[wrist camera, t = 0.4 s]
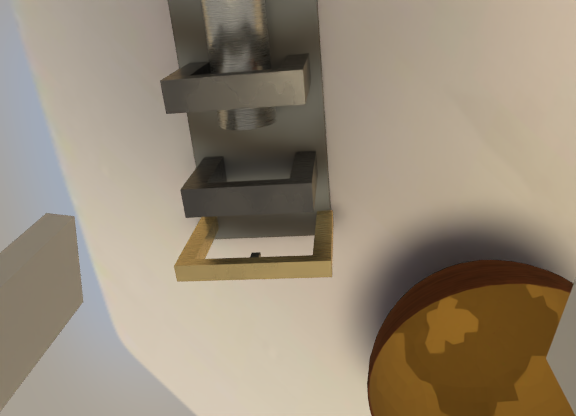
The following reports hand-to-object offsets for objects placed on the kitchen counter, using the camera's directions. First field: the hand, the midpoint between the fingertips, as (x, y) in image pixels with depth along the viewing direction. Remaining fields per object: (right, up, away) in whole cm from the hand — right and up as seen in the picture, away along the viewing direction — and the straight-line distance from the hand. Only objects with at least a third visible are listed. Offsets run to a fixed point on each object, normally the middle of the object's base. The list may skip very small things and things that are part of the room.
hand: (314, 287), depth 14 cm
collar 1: (-3, +12, +23) cm, 26 cm away
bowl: (+15, -6, +31) cm, 35 cm away
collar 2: (-3, +5, +26) cm, 27 cm away
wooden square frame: (-2, +1, +28) cm, 28 cm away
